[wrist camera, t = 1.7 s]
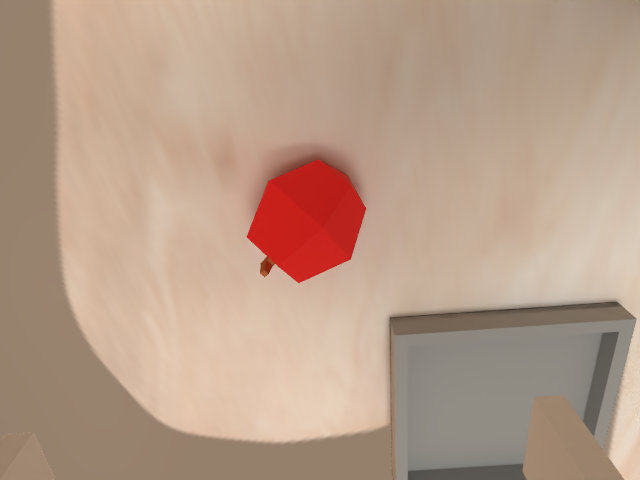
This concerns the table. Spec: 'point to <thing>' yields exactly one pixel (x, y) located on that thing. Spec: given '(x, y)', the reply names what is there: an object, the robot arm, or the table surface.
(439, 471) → the tray
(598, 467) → the robot arm
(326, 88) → the table surface
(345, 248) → the apple
